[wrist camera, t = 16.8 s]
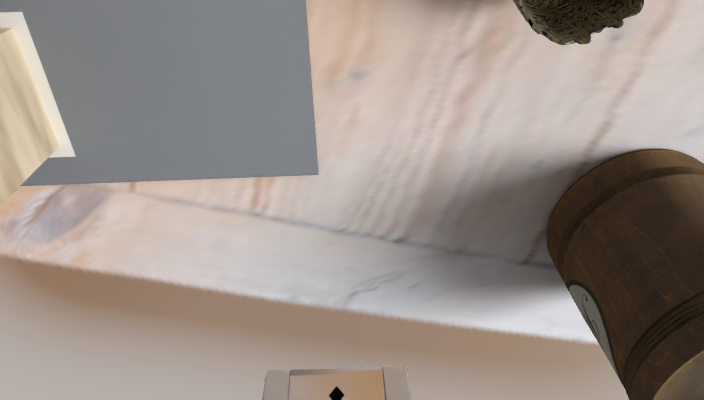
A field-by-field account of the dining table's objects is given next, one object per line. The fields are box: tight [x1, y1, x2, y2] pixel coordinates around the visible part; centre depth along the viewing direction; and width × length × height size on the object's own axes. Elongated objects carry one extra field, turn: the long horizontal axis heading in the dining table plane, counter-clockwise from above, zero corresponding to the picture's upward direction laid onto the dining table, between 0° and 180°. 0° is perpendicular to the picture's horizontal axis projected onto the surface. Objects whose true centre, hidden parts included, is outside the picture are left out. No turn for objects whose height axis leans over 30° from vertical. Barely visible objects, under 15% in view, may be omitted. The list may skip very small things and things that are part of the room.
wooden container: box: [547, 150, 704, 400], centre depth 36 cm, size 15×15×22 cm
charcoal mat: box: [0, 0, 318, 186], centre depth 37 cm, size 32×16×1 cm, turn 92°
